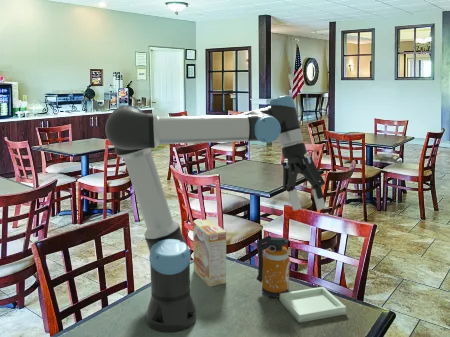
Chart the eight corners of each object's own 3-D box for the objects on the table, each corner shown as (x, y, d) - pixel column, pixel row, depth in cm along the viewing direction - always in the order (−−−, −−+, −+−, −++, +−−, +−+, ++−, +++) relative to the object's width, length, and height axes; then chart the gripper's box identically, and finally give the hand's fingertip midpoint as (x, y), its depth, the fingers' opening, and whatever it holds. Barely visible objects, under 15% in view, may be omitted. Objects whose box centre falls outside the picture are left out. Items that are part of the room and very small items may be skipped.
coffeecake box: (192, 270, 173) (192, 221, 169) (210, 266, 176) (210, 218, 172) (208, 287, 160) (208, 234, 155) (226, 283, 163) (227, 231, 158)
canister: (287, 300, 151) (289, 243, 147) (254, 296, 153) (255, 240, 149) (289, 287, 159) (291, 233, 155) (257, 284, 162) (258, 231, 157)
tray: (299, 322, 138) (299, 315, 137) (279, 300, 151) (279, 293, 150) (345, 314, 143) (346, 306, 142) (322, 293, 156) (323, 286, 155)
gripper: (325, 135, 136) (343, 205, 136) (282, 147, 158) (297, 207, 159) (304, 141, 133) (322, 212, 133) (263, 152, 155) (279, 212, 155)
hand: (308, 209), depth 146 cm, fingers open, 13 cm apart
